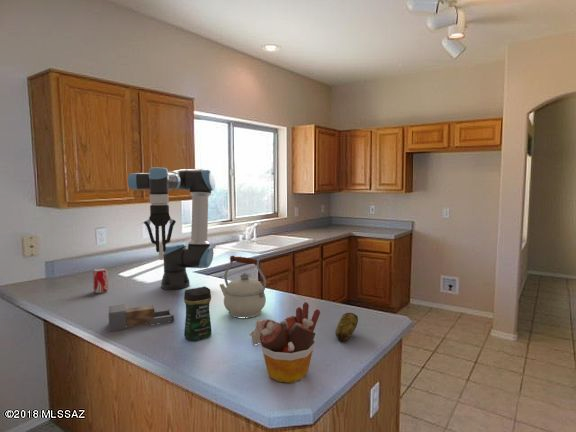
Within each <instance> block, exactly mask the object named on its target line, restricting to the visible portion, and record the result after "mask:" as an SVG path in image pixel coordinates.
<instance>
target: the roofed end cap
mask: <svg viewBox="0 0 576 432" xmlns="http://www.w3.org/2000/svg"><path fill="white" fill-rule="evenodd" d="M125 309H126V304H125V303H123V304H113V305H108V325H109V327H108V328H109V329H108V330H109V332H115V331H120V330H121V329H122V330H126V329H127V327H126V310H125ZM122 330H121V331H122Z"/></svg>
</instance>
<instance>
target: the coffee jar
mask: <svg viewBox="0 0 576 432" xmlns="http://www.w3.org/2000/svg"><path fill="white" fill-rule="evenodd" d="M211 300H212V294H211V289H210V288H209V287H207V286H205V285H204V286H201V287H194V288H189V289H187V288H186V289H185V290H184V296H183V301H184V304H185V321H184V330H183V332H184V334H183V336H184V337H185V339H186V340H188V341H194V340H196V341H200V340H203V338H204V339H207V338H210V337H211V335H212V332H213V331H212V322H211V313H210V304H211ZM209 336H210V337H209ZM199 339H200V340H199ZM194 342H195V341H194Z"/></svg>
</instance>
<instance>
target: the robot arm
mask: <svg viewBox="0 0 576 432" xmlns="http://www.w3.org/2000/svg"><path fill="white" fill-rule="evenodd" d="M127 185H128V188H129V189H130V190H134V191H135V190H136V191H143V190H144V191H146V190H149V204H150V206H149V212H150V213H149V217H148V219H147V220H145V221H143V223H144V225H145V226H146V229H147V231H148V235H149V240H150V242H151V244H153V245H155V251H156V252H157V253H158V260H159V261H163V274H162V278H161V282H160V287H161V289H164V290H180V289H185V288H187V287H189V286H190V283H191V282H190V278H189V276H188V273H187V268H188V269H208V268H209V267H210V266H211V264H212V262H213V259H214V254H215V253H214V247H213V246H211V243H210V242H209V241H208V226H209V225H208V224H209V223H208V222H209V221H208V219H209V218H208V217H209V197H210V196H211V195H212V191H214V190H215V189H216V179H215V176H214V173H213V172H212V170H210V169H206V168H191V169H189V168H188V169H187V168H183V169H176V170H169V171H168V168H166V167H150V168H149V170H148V172H132V173H130V174H129V175H128V176H127ZM174 190H179V191H180V190H181V191H189V194H190V196H191V233H190V238H191V239H190V241H189V242H187V244H188V245H187V244H186V243H184V242H183V243H174V244H169V243H171V238H172V234H173V229H174V226H175V224H176V220H175V219H173V218H171V216H170V205H169V202H170V200H169V199H170V197H169V191H174ZM151 223H152V224H153V226H154V228H155V229H154V230H155V231H154V232H155V238H154V235H153V232H152V227H151ZM168 223H169V227H168V232H167V235H166V226H167V224H168ZM160 227H161V243H160ZM167 244H169V245H167ZM186 245H187V246H186Z"/></svg>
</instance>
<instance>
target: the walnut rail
mask: <svg viewBox="0 0 576 432" xmlns="http://www.w3.org/2000/svg"><path fill="white" fill-rule="evenodd" d="M125 310H126V326H127V327H132V325H134V326H138V324H140V325H145V323H147V324H150V318H153V317H155V316H154V311H155V306H154V305H153V304H152V305H146V306H145V305H144V306H138V307H129V308H125Z"/></svg>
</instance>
